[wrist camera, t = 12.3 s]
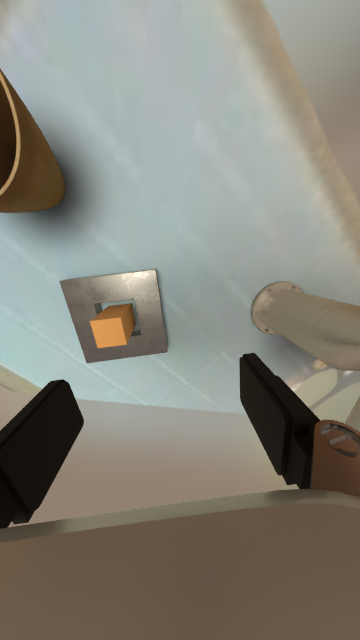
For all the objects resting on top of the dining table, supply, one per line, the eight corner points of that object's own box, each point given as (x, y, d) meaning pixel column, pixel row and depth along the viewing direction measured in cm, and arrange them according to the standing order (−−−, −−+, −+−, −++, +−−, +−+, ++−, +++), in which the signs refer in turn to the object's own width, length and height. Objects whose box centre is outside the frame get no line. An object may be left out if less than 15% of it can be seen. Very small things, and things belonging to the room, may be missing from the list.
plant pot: (-10, 208, 30) (-185, 156, 15) (1, 106, 26) (-220, -104, 11) (77, 246, 33) (6, 234, 18) (99, 160, 29) (30, 53, 14)
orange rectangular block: (131, 303, 38) (120, 317, 28) (135, 324, 39) (126, 344, 30) (108, 306, 37) (89, 321, 28) (113, 327, 39) (97, 348, 30)
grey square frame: (156, 269, 36) (155, 270, 33) (167, 345, 42) (167, 352, 39) (67, 279, 35) (59, 281, 32) (92, 356, 41) (86, 363, 38)
